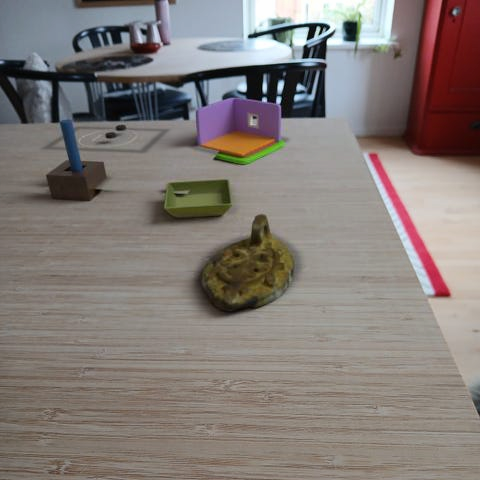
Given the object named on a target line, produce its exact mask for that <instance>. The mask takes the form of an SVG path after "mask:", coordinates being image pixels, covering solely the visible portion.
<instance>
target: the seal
mask: <svg viewBox="0 0 480 480" xmlns="http://www.w3.org/2000/svg"><path fill="white" fill-rule="evenodd" d="M269 224H270V223H269V220H268V216H267V215H266V213H265V214H264V213H260V214H256V215H255V216H254V219H253V221H252V224H251V231H250V236H249V237H247V238H243V239H241V240H239V241H235V242H232V243H230V244H229V245H226V246H225V247H223V248H222V249H220V250H218V251H217V252H216V253H215V254H214V255H212V257H211V258H210V259H209V260H208V261H207V263H206V264H205V267H204V269H203V271H202V273H201V285H202V289H203V290H204V292H205V294H206V295H207V297H208V299H209V300H210V301H211V302H212V303H213V304H214V305H215V307H217V308H218V309H220V310H223V311H227V312H234V311H236V310H238V309H245V308H248V307H253V308H258V307H261V306H264V305H267V304H269V303H271V302H273V301H275V300H277V299H278V298H280V297H281V296H282V295H284V293H285V292H286V291H287V290H288V288H289V286H290V284H291V283H292V280H293V277H294V273H295V260H294V258H293V257H294V256H293V254H292V252H291V250H290V249H289V248H288V247H287V246H286V245H285V244H284V243H283V242H282V241H280V240H279V239H278V238H276V237H275V236H273V234H272V233H271V229H270V225H269Z"/></svg>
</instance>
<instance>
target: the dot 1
mask: <svg viewBox="0 0 480 480" xmlns="http://www.w3.org/2000/svg"><path fill="white" fill-rule="evenodd" d="M104 136H105V139H108V140H111V139H115V138H117V133H116V132H114V131H109V132H106V133H105V134H104Z"/></svg>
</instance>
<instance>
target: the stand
mask: <svg viewBox="0 0 480 480" xmlns="http://www.w3.org/2000/svg"><path fill="white" fill-rule="evenodd" d="M81 163H82V168H83V169H82V170H81V171H79V172H73V171H71V167H70V163H69V159H66V160H64V161H63V162H62V163H60V164H59V165H58V166H56V167H55V168H53V169H52V170H50V171H49V172H48V173H46V174H45V177H46V182H47V185H48V189H49V194H50V196H51V199H52V200H53V199H54V200H71V201H72V200H73V201H85V202H86V201H87V202H90V201H92V200H93V199H94V198H96V197H97V196H98V195H99V194H100V193H101V192H102V191H103V188H98V186H100V185H101V184H102V183H103V182H104V181H105V180H106V179H107V178H108V177H107V171H106V167H105V162H104V161H100V160H99V161H96V160H95V161H94V160H81Z"/></svg>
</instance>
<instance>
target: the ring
mask: <svg viewBox="0 0 480 480" xmlns="http://www.w3.org/2000/svg"><path fill="white" fill-rule="evenodd" d="M106 131H107V132H108V131H109V132H110V129H103V130H98V131H94V132H90V133H88V134H85V135H82V136H81V137H79V139H78V141H77V144H79V145H80V146H81V147H84V148H85V147H86V148H91V149H92V148H93V149H105V148H113V147H118V146H123V145H126V144H129V143H131V142H134V141H135V140H137V138H138V133H137V132H135V131H133V130H130V129H129V130H128V129H126V130H124V131H125V132H130V133H132V134H134V137H133V138H132V139H131V140H129V141H126V142H123V143H120V144H115V145H109V146H108V145H107V146H90V145H86V144H83V143H81V140H82V139H83V138H85V137H86V136H89V135H92V134H95V133H101V132H106ZM111 131H117V130H116V128H112V129H111ZM101 136H102V134H99V135H98V136H96V137H95V138H93V139H92V140H91V142H94V141H95V140H97V139H98V138H100V137H101Z"/></svg>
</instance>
